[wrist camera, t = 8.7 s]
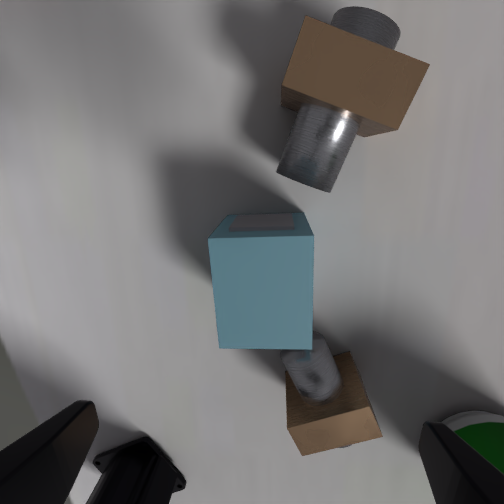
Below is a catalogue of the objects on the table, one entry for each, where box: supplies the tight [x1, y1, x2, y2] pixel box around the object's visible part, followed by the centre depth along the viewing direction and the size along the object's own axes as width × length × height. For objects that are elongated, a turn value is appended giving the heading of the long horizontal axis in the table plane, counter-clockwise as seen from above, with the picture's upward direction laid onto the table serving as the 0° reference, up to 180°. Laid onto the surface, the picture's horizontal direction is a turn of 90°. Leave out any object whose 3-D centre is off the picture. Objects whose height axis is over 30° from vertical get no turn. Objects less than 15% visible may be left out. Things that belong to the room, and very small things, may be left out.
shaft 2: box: [280, 331, 383, 456], centre depth 19 cm, size 7×5×5 cm
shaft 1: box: [276, 6, 430, 193], centre depth 14 cm, size 7×5×5 cm
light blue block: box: [208, 212, 314, 350], centre depth 16 cm, size 6×5×6 cm
